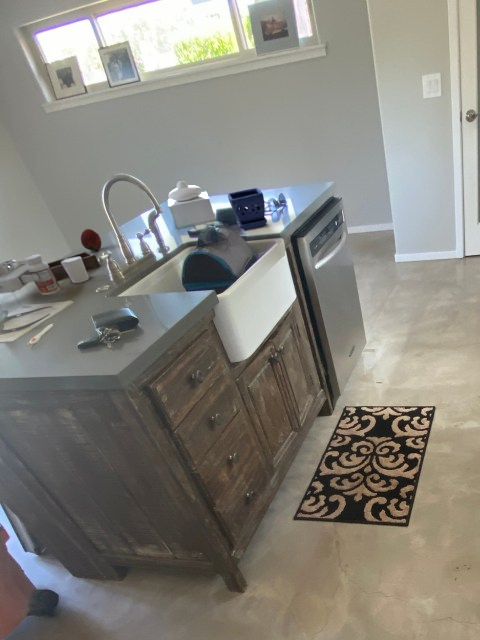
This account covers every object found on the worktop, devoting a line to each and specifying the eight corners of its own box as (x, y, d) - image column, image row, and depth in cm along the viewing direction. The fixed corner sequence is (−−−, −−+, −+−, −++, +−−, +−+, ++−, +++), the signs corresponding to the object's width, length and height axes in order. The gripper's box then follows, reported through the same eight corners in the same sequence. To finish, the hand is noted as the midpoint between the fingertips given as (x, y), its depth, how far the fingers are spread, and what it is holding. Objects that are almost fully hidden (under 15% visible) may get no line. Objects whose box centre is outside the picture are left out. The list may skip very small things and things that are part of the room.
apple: (108, 248, 215) (99, 227, 210) (92, 254, 211) (82, 232, 206) (98, 247, 219) (89, 226, 213) (82, 252, 214) (72, 231, 209)
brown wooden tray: (52, 281, 187) (46, 270, 185) (44, 277, 193) (38, 266, 190) (100, 266, 196) (94, 254, 193) (91, 262, 201) (86, 251, 198)
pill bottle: (47, 289, 175) (28, 254, 168) (64, 287, 175) (46, 252, 167) (37, 296, 171) (18, 260, 163) (55, 294, 170) (36, 258, 163)
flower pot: (271, 225, 211) (263, 192, 203) (239, 232, 208) (230, 199, 200) (265, 219, 220) (258, 187, 212) (235, 225, 218) (226, 193, 210)
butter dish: (213, 212, 242) (200, 173, 232) (215, 220, 229) (203, 179, 219) (175, 220, 240) (161, 180, 229) (176, 229, 227) (161, 187, 216)
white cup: (85, 282, 182) (75, 261, 177) (67, 284, 182) (56, 263, 178) (94, 275, 187) (84, 255, 182) (76, 277, 187) (66, 257, 183)
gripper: (-20, 278, 159) (23, 272, 159) (12, 258, 174) (51, 253, 174) (-8, 299, 163) (35, 293, 163) (23, 278, 179) (61, 272, 178)
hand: (44, 272), depth 169 cm, fingers closed on pill bottle, 6 cm apart
